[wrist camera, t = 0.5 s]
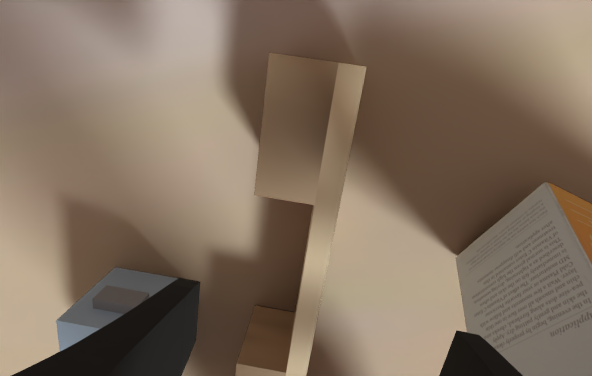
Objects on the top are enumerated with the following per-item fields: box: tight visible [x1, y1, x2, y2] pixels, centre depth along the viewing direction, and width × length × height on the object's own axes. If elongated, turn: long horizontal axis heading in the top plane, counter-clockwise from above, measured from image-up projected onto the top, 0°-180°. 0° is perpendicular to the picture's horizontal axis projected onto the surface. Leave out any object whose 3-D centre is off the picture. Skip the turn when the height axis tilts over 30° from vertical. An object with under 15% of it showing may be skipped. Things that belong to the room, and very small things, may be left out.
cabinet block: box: [56, 267, 178, 351], centre depth 20 cm, size 8×4×5 cm, turn 172°
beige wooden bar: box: [235, 52, 367, 376], centre depth 18 cm, size 22×4×4 cm, turn 172°
